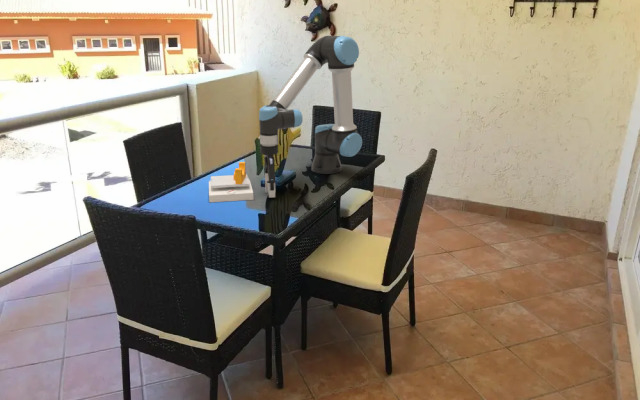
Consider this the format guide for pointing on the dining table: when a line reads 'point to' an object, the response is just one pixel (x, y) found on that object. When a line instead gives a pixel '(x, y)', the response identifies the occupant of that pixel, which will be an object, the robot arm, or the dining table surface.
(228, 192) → the scale
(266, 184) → the block
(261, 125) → the robot arm
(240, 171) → the pipe clamp
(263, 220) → the dining table surface
